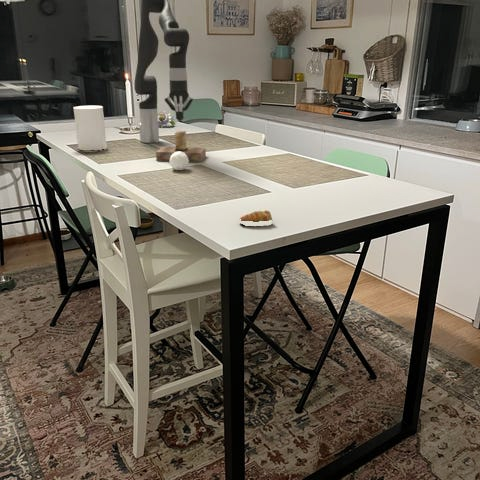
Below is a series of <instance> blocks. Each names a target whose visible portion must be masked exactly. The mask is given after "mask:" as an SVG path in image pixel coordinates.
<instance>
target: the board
mask: <svg viewBox="0 0 480 480" xmlns="http://www.w3.org/2000/svg"><path fill="white" fill-rule="evenodd" d="M186 148H187V149H186V151H180V152H184V153H185V154H186V155H187V157H188V160H189V162H188V163H201V162H203V160H204V159H205V158H206V157H207V156H206V155H207V153H206V152H207V151H206V149H207V148H206V147H192V146H191V147H190V146H189V147H187V146H186ZM175 152H178V151H176V146H162V147H161V148H159V149H158V150H156V151H155V158H156V159H155V161H157V162H170V157H171V155H172V154H173V153H175Z"/></svg>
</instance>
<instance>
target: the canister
mask: <svg viewBox="0 0 480 480" xmlns="http://www.w3.org/2000/svg"><path fill="white" fill-rule="evenodd" d="M73 113H74V114H73V115H74V122H75V123H74V124H75V132H76V141H77V148H78V149H77V150H79V149H81V150H100V151H103V150H102V149H104V150H106V148H107V147H108V145H107V137H106V126H105V117H104V116H105V115H104V106H102V105H79V106H73ZM107 149H108V148H107Z"/></svg>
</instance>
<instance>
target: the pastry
mask: <svg viewBox="0 0 480 480" xmlns="http://www.w3.org/2000/svg"><path fill="white" fill-rule="evenodd" d="M240 219H241V221H253V222H259V221H269V220H272V221H273V217H272V213H271V212H270V210H264V211H262V210H258V211H253V212H251V213H248V214H245V215H242V216H241V217H240V218H239V220H240Z"/></svg>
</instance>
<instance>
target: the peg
mask: <svg viewBox="0 0 480 480" xmlns="http://www.w3.org/2000/svg"><path fill="white" fill-rule="evenodd" d="M174 139H175V140H174V141H175V142H174V143H175V147H176V151H186V149H187V148H186V147H187V131H184V130H183V131H182V130H177V131H175V132H174Z"/></svg>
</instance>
